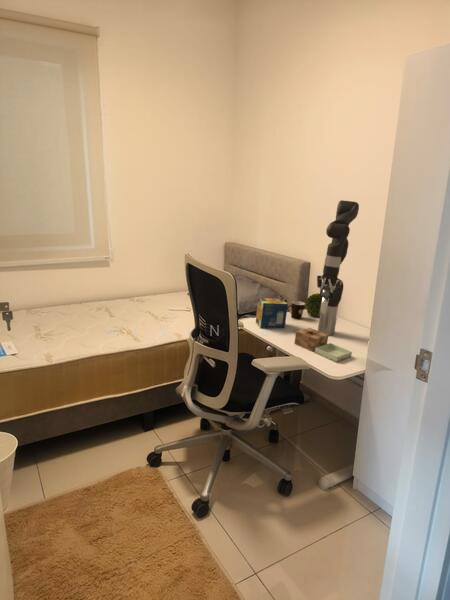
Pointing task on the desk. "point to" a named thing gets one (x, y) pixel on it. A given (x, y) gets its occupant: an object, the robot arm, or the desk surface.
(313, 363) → the desk surface
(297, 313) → the coffee mug
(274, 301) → the protein box
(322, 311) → the steel pin
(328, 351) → the sage tray
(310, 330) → the brown wooden block
